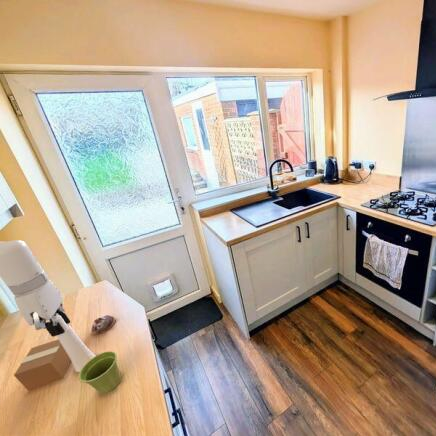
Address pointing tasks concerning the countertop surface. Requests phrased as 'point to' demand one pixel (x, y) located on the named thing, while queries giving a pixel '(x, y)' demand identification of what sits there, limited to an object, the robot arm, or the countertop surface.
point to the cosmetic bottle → (73, 345)
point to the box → (43, 365)
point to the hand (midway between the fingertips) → (61, 328)
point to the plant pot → (101, 372)
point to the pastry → (102, 324)
